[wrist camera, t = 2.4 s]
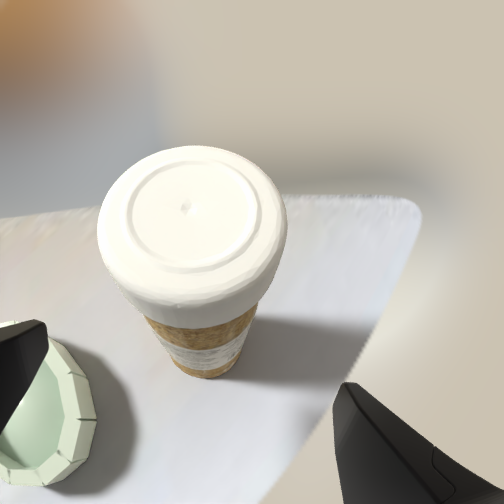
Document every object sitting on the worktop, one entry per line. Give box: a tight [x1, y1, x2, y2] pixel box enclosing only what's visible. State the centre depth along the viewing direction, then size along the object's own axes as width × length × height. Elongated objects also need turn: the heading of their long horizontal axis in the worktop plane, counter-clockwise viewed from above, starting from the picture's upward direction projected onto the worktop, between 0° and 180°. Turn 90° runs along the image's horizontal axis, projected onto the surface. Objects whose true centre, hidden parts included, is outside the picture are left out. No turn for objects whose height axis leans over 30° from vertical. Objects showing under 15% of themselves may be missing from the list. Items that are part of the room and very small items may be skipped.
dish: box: [0, 321, 97, 486], centre depth 14 cm, size 10×10×2 cm
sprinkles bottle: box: [97, 146, 287, 378], centre depth 13 cm, size 5×5×14 cm
